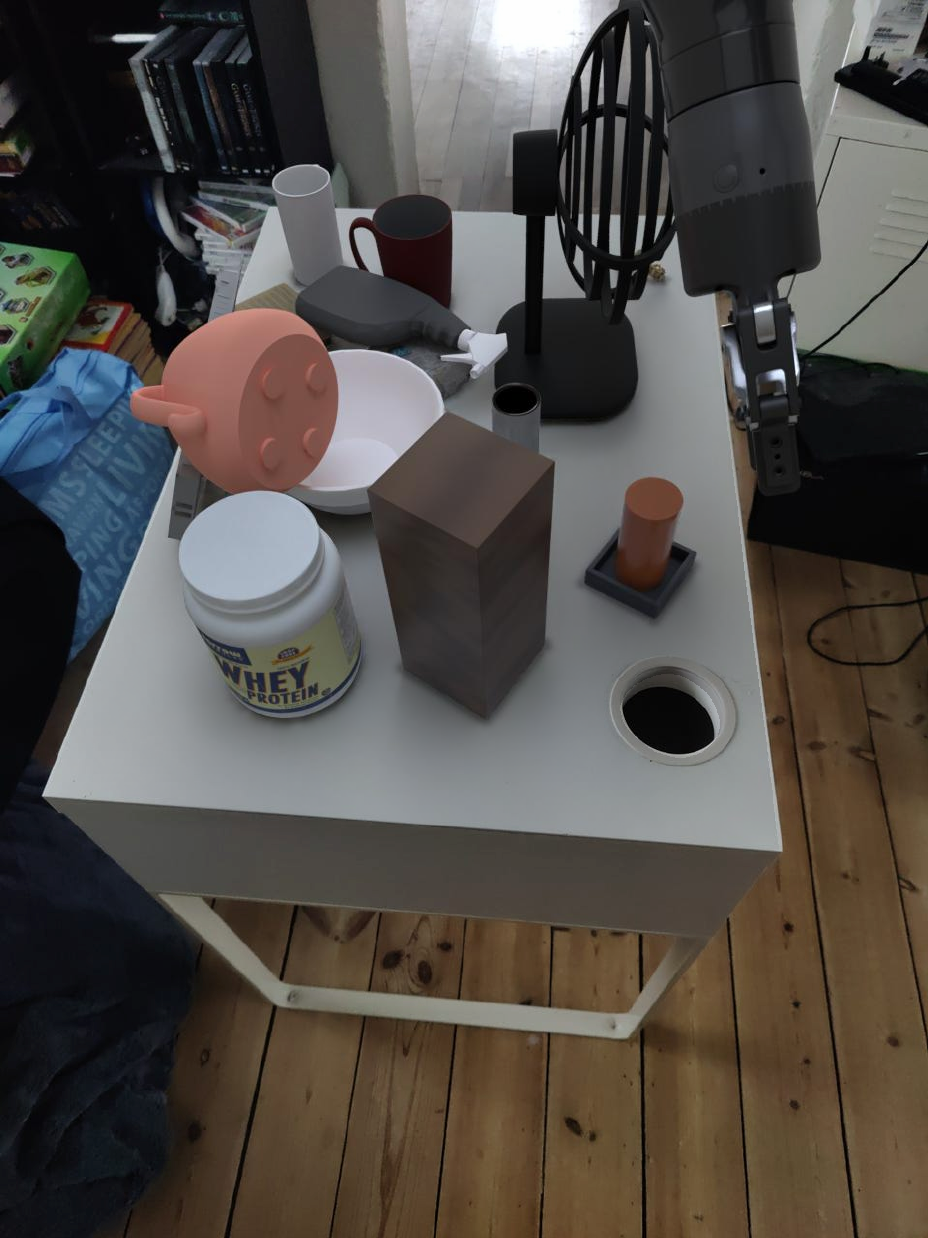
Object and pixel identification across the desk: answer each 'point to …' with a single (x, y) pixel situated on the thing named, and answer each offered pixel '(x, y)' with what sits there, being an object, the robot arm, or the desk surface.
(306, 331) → the teapot
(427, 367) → the stone
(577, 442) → the desk surface
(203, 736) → the desk surface
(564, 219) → the desk fan
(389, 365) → the bowl
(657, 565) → the copper brown cylinder
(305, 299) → the spray bottle
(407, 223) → the mug
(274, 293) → the ink box
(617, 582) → the tray
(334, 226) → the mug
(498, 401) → the gray hollow tube
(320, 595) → the supplement tub
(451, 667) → the plant stand
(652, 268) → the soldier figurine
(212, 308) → the building model
